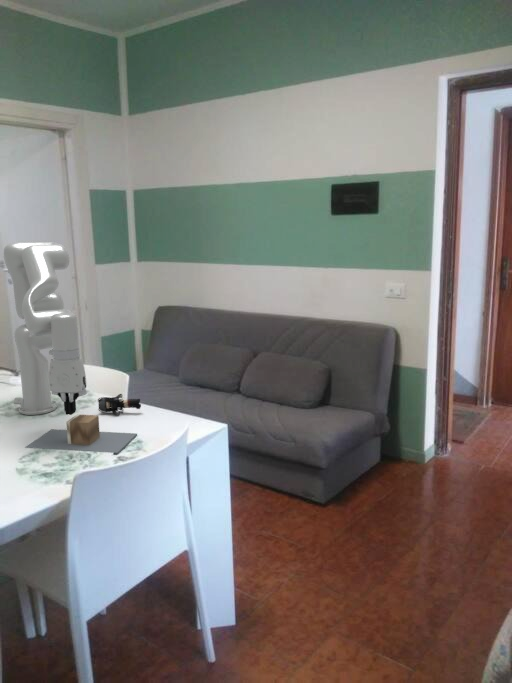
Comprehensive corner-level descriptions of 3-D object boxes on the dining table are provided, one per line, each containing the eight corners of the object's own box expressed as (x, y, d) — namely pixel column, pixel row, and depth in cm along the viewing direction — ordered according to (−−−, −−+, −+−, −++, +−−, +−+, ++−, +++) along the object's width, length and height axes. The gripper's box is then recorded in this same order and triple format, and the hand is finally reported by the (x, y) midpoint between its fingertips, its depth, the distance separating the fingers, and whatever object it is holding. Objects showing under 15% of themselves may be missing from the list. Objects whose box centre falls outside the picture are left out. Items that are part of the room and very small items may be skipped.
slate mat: (24, 449, 170) (24, 447, 170) (51, 430, 186) (51, 429, 186) (117, 454, 166) (117, 452, 166) (137, 435, 181) (137, 433, 181)
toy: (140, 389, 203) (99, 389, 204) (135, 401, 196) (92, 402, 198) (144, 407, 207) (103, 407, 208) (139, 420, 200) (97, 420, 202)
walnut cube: (66, 421, 171) (88, 422, 170) (77, 414, 178) (98, 415, 177) (67, 443, 173) (89, 445, 172) (78, 435, 180) (99, 436, 178)
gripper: (36, 356, 169) (41, 416, 172) (84, 357, 166) (88, 418, 170) (49, 351, 176) (53, 408, 179) (95, 352, 174) (99, 410, 177)
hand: (70, 413), depth 175 cm, fingers closed
